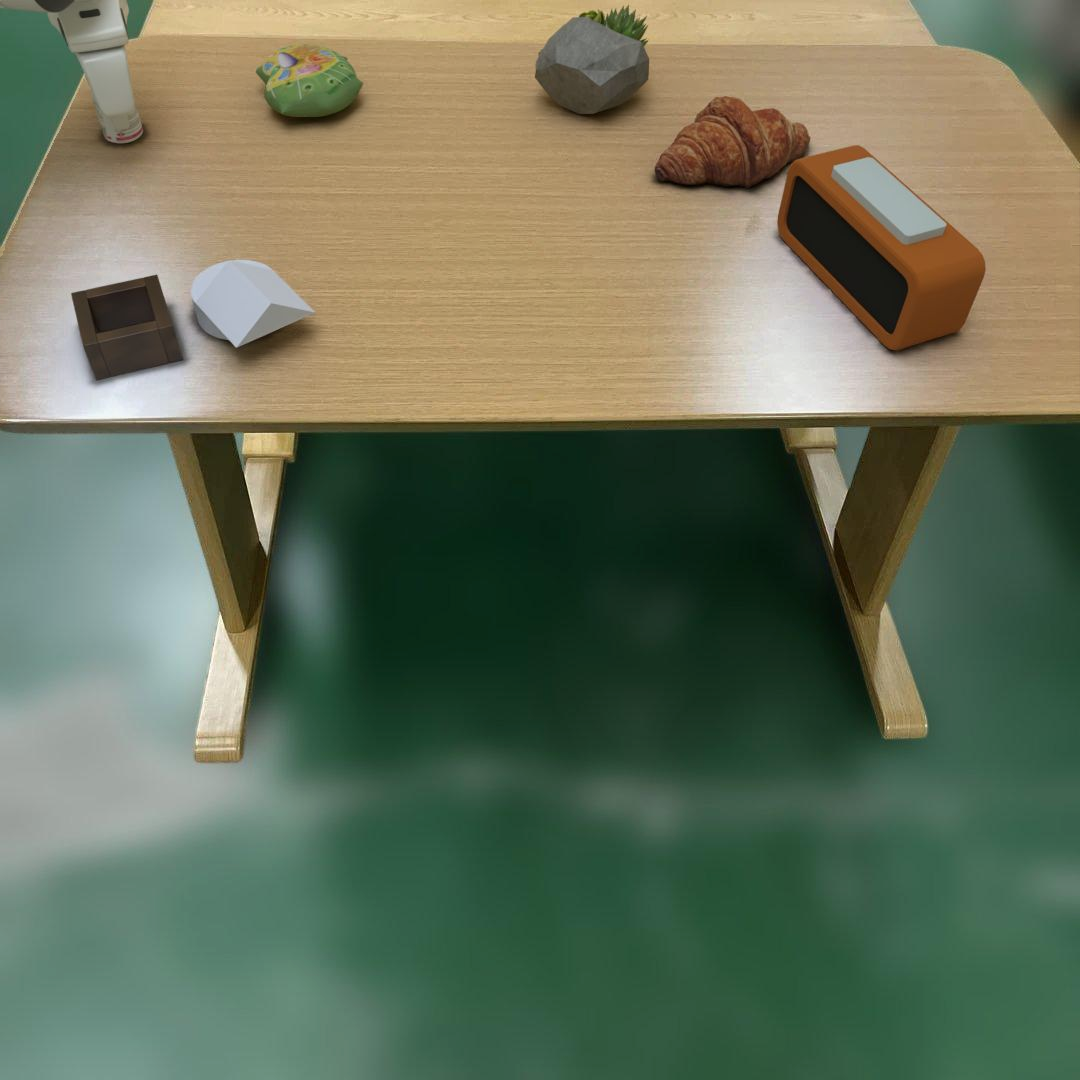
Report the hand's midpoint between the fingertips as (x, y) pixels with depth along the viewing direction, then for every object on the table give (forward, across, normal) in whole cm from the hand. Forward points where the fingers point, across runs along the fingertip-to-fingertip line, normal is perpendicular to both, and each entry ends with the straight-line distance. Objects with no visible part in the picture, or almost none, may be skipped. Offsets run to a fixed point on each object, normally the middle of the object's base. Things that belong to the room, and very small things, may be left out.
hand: (118, 114), depth 136 cm
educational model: (+3, 0, +24) cm, 24 cm away
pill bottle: (+3, 0, 0) cm, 3 cm away
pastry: (+3, +32, +69) cm, 76 cm away
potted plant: (+3, +12, +59) cm, 60 cm away
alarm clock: (+3, +58, +71) cm, 92 cm away
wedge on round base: (+3, +41, +6) cm, 42 cm away
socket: (+3, +40, -6) cm, 40 cm away
